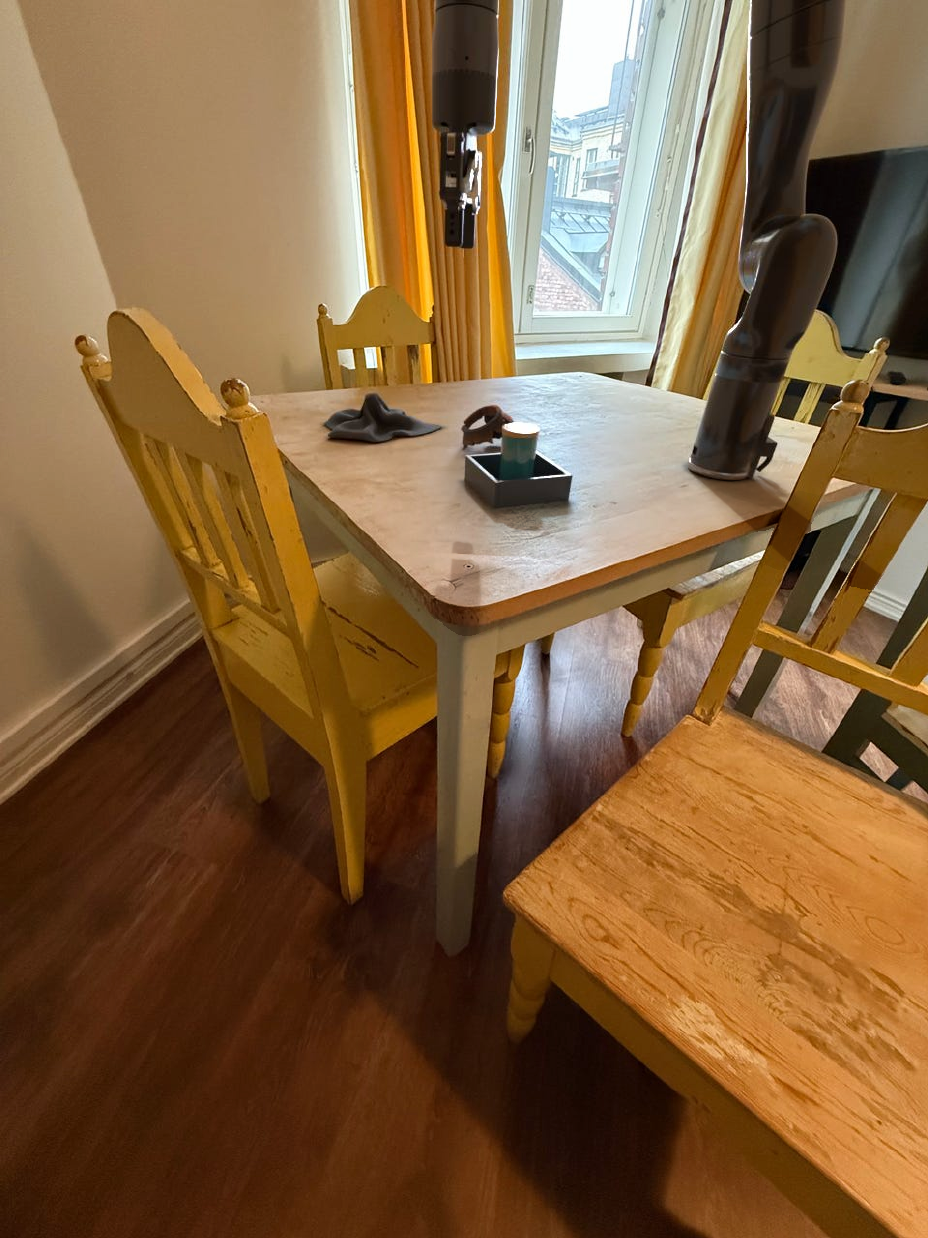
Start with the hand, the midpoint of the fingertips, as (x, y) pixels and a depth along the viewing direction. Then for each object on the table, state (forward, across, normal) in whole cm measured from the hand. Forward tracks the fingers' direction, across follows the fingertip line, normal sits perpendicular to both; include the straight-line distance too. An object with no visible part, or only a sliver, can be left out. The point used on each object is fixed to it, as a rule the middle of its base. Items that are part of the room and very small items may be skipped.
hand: (460, 247), depth 69 cm
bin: (+28, -12, -11) cm, 33 cm away
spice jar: (+28, -12, -11) cm, 32 cm away
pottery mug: (+28, +7, -5) cm, 30 cm away
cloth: (+28, +14, +17) cm, 36 cm away
